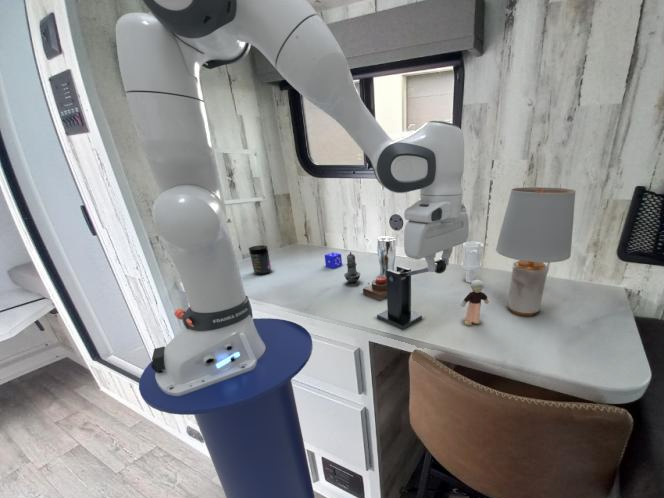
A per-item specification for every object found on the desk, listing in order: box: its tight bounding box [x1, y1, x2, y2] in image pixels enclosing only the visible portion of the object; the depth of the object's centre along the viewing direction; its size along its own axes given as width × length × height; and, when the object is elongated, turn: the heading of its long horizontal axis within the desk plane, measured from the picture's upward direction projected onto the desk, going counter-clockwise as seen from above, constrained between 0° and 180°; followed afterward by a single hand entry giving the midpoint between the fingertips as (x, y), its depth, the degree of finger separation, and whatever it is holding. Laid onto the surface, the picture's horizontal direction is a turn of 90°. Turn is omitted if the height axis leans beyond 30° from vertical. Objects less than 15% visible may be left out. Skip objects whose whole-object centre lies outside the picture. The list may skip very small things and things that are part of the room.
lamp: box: [495, 186, 577, 317], centre depth 84 cm, size 19×19×34 cm
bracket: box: [376, 265, 423, 331], centre depth 84 cm, size 10×8×15 cm
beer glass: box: [376, 236, 397, 277], centre depth 115 cm, size 7×7×15 cm
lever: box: [396, 259, 447, 280], centre depth 77 cm, size 17×3×3 cm, turn 48°
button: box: [375, 275, 387, 284], centre depth 103 cm, size 4×4×2 cm
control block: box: [362, 278, 387, 301], centre depth 104 cm, size 10×8×4 cm
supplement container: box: [248, 244, 273, 276], centre depth 122 cm, size 7×7×10 cm
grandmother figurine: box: [460, 279, 489, 326], centre depth 82 cm, size 8×4×13 cm, turn 114°
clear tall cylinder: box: [460, 241, 484, 283], centre depth 110 cm, size 7×7×15 cm
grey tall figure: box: [343, 251, 361, 287], centre depth 110 cm, size 6×6×12 cm
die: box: [324, 252, 343, 269], centre depth 130 cm, size 5×5×5 cm
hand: (438, 268), depth 72 cm, fingers closed on lever, 3 cm apart
